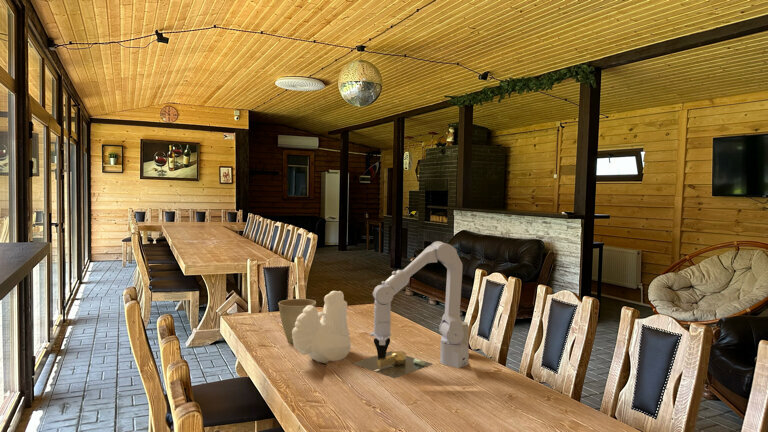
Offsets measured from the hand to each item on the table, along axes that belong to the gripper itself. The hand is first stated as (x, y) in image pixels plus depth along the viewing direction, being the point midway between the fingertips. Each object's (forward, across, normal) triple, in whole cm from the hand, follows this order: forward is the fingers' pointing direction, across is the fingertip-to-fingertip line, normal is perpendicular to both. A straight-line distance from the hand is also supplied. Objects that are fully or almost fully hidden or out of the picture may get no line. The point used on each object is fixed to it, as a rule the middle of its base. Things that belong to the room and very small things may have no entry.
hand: (381, 359), depth 176 cm
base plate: (+3, -2, +4) cm, 6 cm away
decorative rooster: (+4, -8, -22) cm, 24 cm away
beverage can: (+4, -19, +30) cm, 36 cm away
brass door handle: (+2, -1, +3) cm, 4 cm away
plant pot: (+4, -32, -34) cm, 47 cm away
